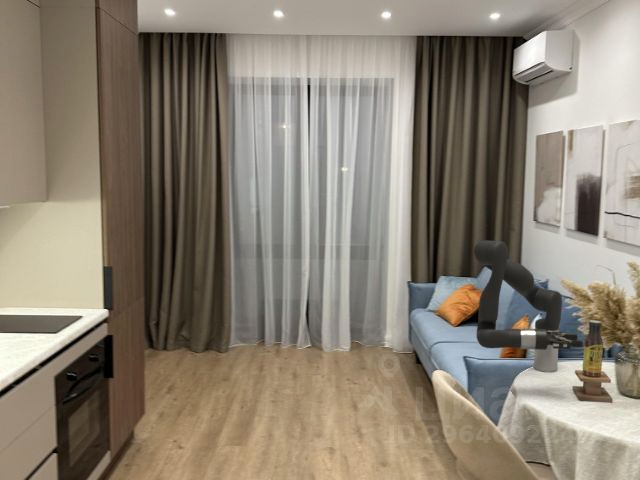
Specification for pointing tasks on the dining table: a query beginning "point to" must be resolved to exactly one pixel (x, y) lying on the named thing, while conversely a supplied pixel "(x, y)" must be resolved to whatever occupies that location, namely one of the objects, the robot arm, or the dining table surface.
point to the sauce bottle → (593, 350)
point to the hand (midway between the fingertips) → (579, 340)
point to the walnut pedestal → (592, 388)
